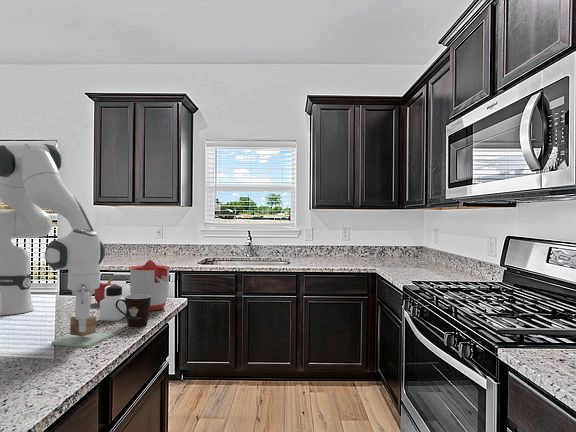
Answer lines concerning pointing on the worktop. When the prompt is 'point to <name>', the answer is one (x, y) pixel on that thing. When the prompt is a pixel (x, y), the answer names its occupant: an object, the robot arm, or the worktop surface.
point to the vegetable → (101, 291)
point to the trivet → (81, 340)
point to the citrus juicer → (151, 283)
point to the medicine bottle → (112, 304)
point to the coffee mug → (136, 309)
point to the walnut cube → (89, 326)
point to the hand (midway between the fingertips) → (82, 327)
